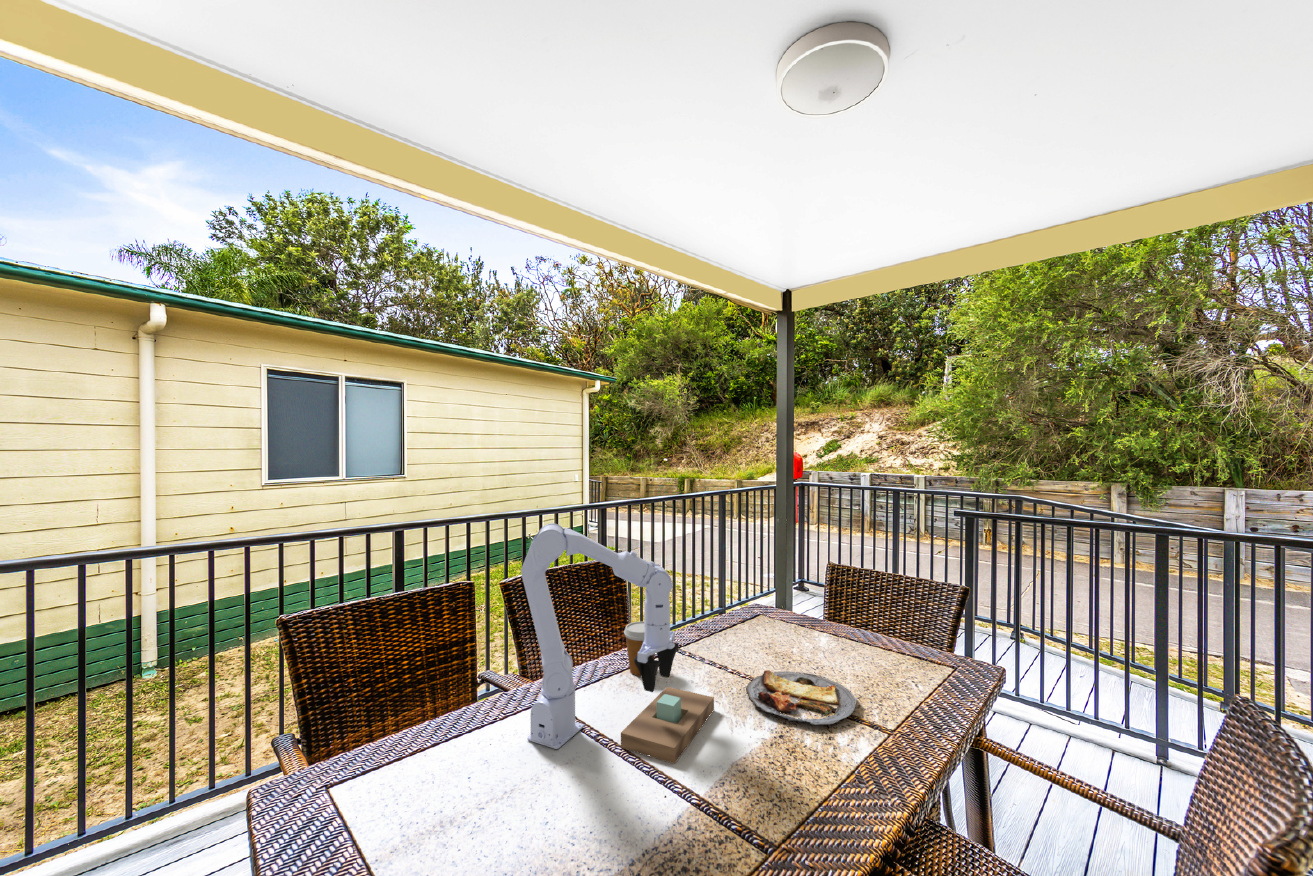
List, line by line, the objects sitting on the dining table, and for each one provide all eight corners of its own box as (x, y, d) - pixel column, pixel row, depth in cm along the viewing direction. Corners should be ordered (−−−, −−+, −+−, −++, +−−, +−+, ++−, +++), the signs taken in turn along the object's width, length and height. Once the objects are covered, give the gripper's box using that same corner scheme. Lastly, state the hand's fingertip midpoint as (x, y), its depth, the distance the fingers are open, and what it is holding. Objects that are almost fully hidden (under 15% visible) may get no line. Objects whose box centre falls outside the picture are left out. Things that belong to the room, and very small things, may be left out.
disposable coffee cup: (644, 682, 130) (644, 635, 131) (616, 672, 136) (616, 628, 136) (665, 669, 138) (665, 625, 138) (639, 660, 144) (638, 618, 144)
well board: (674, 763, 96) (674, 748, 96) (620, 747, 102) (620, 732, 102) (714, 710, 116) (713, 697, 116) (667, 699, 121) (667, 686, 121)
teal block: (673, 734, 106) (673, 706, 106) (656, 730, 108) (656, 702, 108) (681, 725, 110) (681, 697, 110) (664, 721, 112) (664, 694, 112)
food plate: (733, 711, 116) (733, 695, 116) (761, 672, 136) (762, 659, 136) (848, 743, 104) (849, 725, 104) (860, 695, 125) (860, 681, 125)
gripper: (658, 635, 103) (658, 702, 103) (686, 614, 116) (686, 674, 116) (628, 629, 107) (628, 694, 106) (659, 610, 120) (659, 668, 119)
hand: (657, 683), depth 111 cm, fingers open, 7 cm apart
